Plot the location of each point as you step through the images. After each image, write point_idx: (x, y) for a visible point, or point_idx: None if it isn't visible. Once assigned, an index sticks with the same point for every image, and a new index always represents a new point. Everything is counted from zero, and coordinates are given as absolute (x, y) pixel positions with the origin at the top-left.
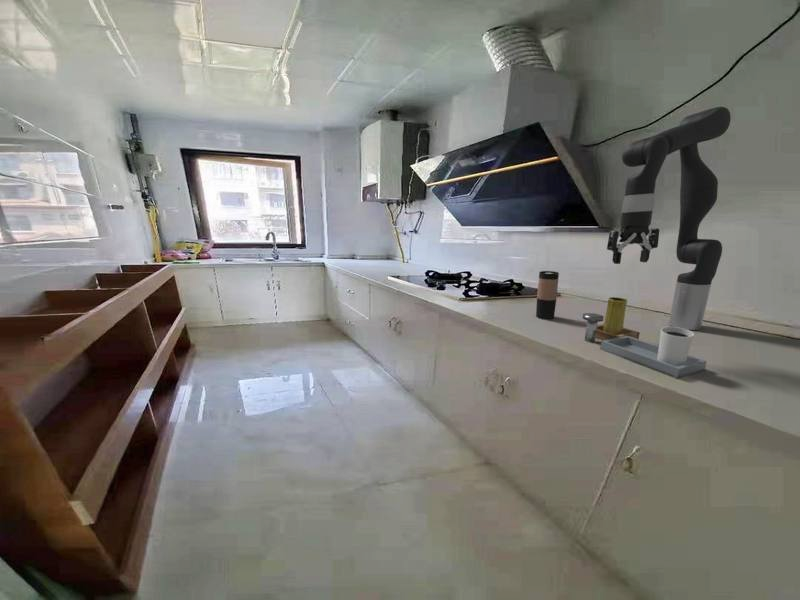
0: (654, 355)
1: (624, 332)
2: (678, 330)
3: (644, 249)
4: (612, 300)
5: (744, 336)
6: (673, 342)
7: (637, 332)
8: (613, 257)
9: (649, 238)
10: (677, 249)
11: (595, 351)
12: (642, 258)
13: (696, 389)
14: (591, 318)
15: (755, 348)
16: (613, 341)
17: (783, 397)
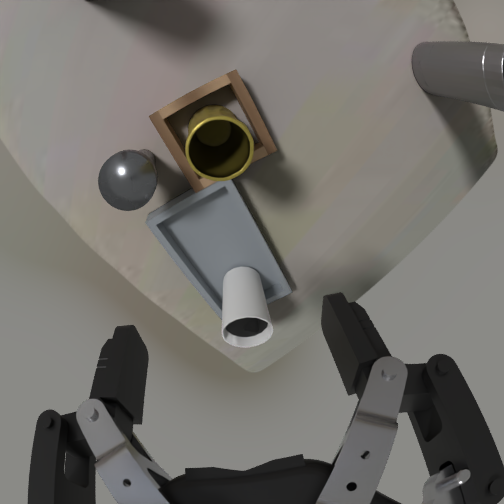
0: (241, 244)
1: (251, 123)
2: (263, 315)
3: (361, 385)
4: (190, 166)
5: (467, 137)
6: (230, 333)
7: (269, 152)
8: (101, 370)
9: (447, 439)
10: None
11: (134, 227)
12: (331, 326)
13: None
14: (115, 206)
15: (437, 189)
16: (176, 211)
17: (312, 329)
